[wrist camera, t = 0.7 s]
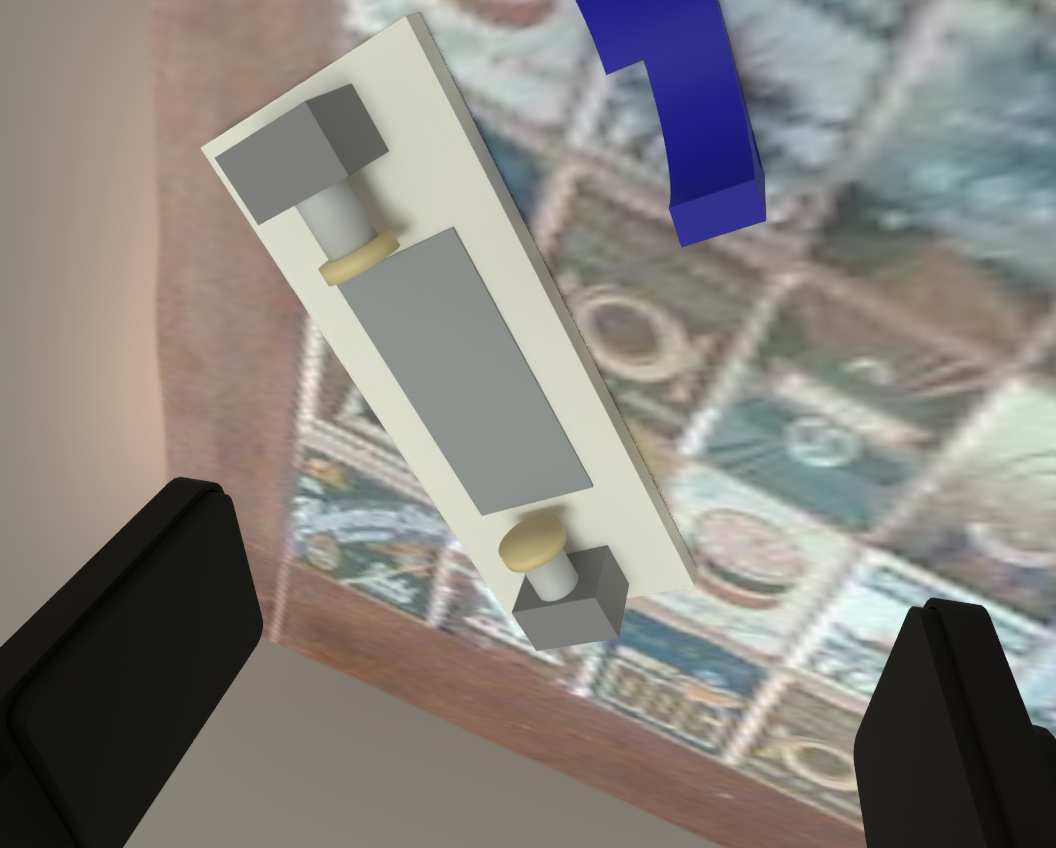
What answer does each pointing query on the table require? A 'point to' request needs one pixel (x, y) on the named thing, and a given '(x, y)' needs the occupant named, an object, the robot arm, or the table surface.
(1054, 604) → the table surface
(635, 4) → the blue cradle bracket
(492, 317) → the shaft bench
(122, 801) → the robot arm
